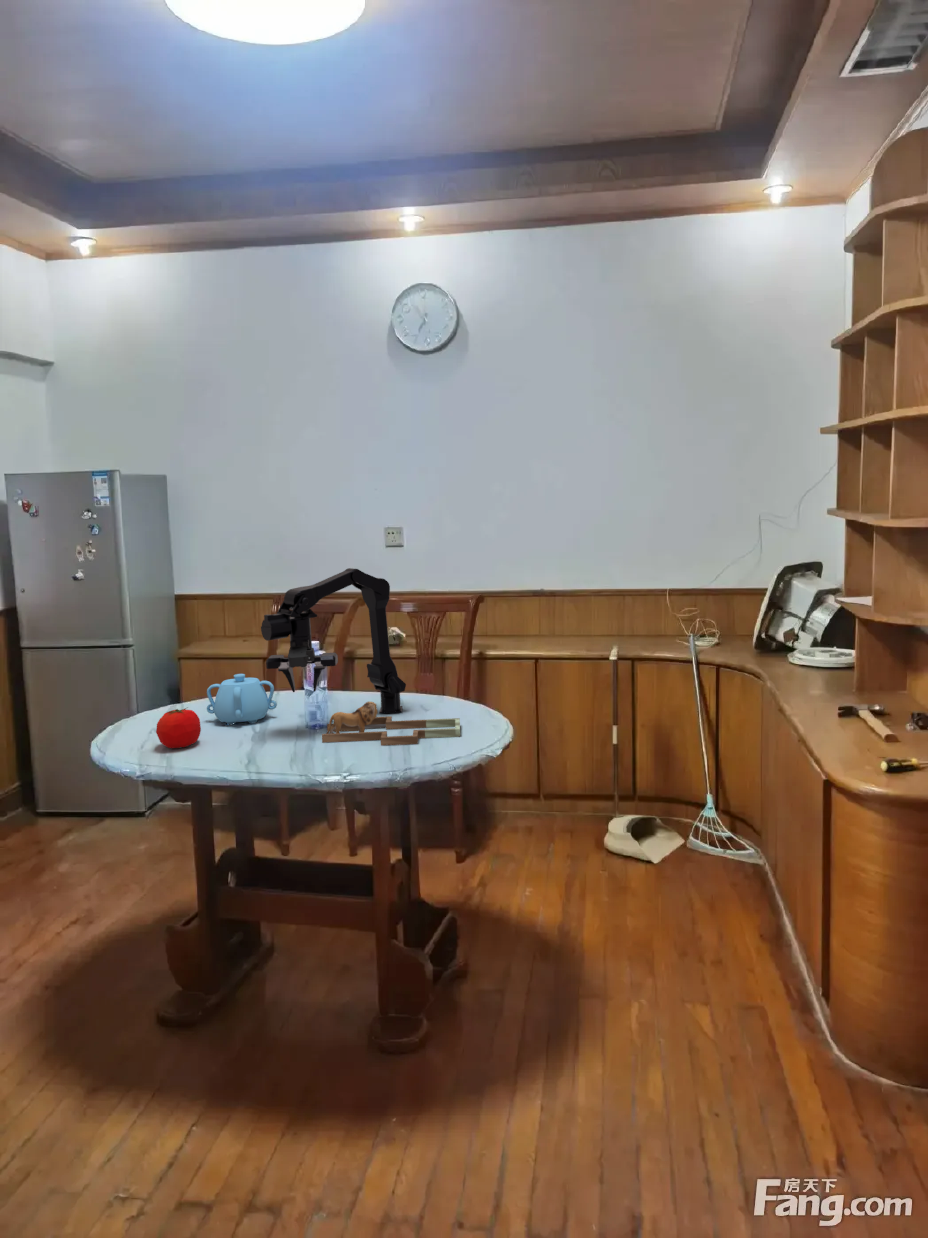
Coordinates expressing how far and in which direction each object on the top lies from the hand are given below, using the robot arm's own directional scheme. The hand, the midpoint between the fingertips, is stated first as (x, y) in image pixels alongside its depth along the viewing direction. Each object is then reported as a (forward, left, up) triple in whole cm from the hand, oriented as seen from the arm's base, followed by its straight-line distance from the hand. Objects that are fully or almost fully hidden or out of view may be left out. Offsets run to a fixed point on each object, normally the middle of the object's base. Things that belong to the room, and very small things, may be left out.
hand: (304, 691), depth 255 cm
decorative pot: (-15, -21, -11) cm, 28 cm away
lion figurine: (+7, +13, -11) cm, 19 cm away
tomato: (+10, -32, -11) cm, 35 cm away
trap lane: (+7, +24, -11) cm, 27 cm away
